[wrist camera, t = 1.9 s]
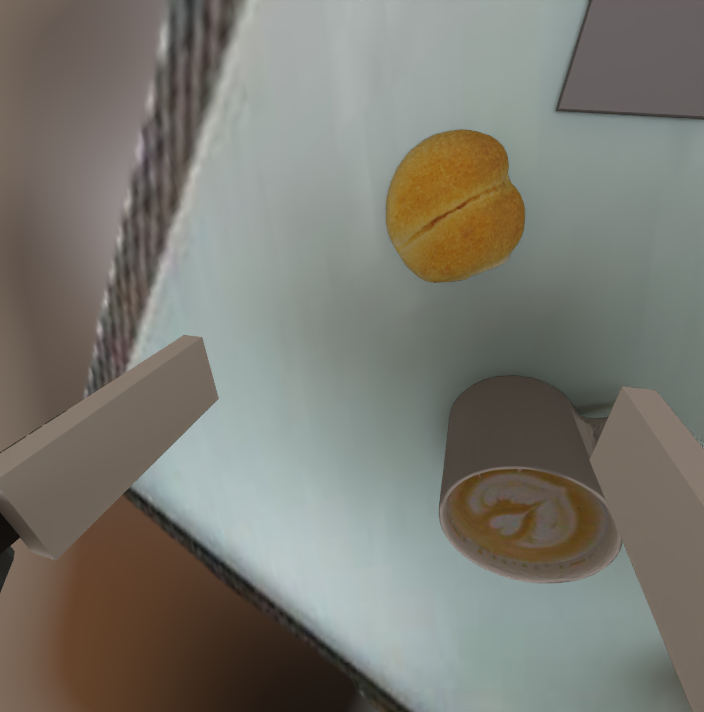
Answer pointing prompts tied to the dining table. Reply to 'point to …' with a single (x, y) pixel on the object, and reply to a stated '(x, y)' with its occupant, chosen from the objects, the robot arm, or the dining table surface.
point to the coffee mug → (525, 484)
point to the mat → (638, 60)
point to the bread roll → (454, 207)
